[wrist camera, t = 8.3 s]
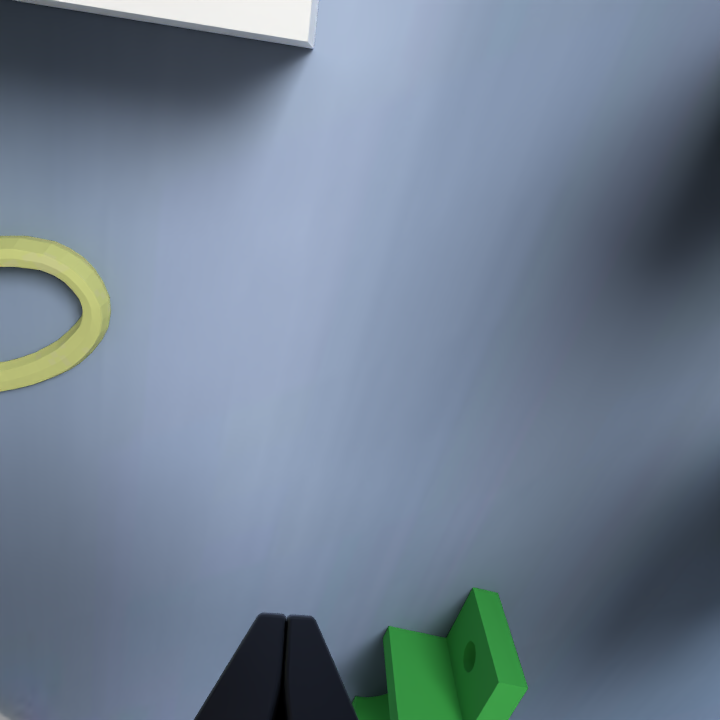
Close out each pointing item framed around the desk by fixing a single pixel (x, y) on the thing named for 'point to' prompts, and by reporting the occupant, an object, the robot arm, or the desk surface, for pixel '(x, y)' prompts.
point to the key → (82, 334)
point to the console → (214, 16)
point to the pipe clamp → (451, 669)
